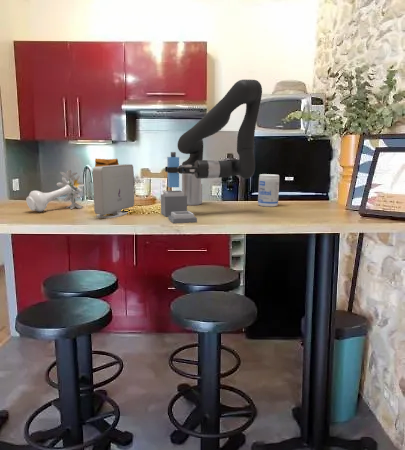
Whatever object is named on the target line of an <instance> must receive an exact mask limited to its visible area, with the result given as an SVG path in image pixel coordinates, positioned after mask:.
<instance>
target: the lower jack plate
mask: <svg viewBox="0 0 405 450" xmlns="http://www.w3.org/2000/svg"><path fill="white" fill-rule="evenodd" d="M167 219H168V221H170V222H171V223H172V224H185V223H187V224H188V223H189V222H191V223H197V222H198V218H197V217H196V216H195V213H193V212H191V211H190V210H187V211H180V212H171V215H168V217H167Z"/></svg>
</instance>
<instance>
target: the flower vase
mask: <svg viewBox="0 0 405 450" xmlns="http://www.w3.org/2000/svg"><path fill="white" fill-rule="evenodd" d="M59 174H60V175H62V176H61V182H57V183H56V186H57V187H59V189H56V190H53V191H50V192H42V191H40V190H31V191H30V192H29V194H28V196H27V197H26V198H25V199H26V200H25V201H26V204H27V207H28V208H29V210H31V211H35V212H38V213H40V212H43V211H44V210H46V208H47V205H48V204H49V203H50V202H51V201H53V200H54V199H57V198H59V197H62V196H65V195H66V196H65V198H64V202H69V201H70V203H71V204H70V205H68V206H66V207H65V208H66V209H71V210H72V209H74V208H77V209H82V207H83V206H82V205H80V204H79V203H77V202H76V199H80V198H81V197H82V196H81V194H79V193H82V191H83V188H81V187H84V186H85V184H84V183H83V182H81V176H80V175H78V172H73V173H72V170H71V169H68V170H67V171H66V172H63V171H59ZM76 175H77V177H75V176H76ZM67 179H68V181H67Z"/></svg>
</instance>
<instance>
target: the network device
mask: <svg viewBox="0 0 405 450" xmlns="http://www.w3.org/2000/svg"><path fill="white" fill-rule="evenodd" d="M134 176H135V175H134V165H133V164H129V163H127V164H119V165H110V166H98V167H95V166H94V167H93V168H92V183H93V184H92V187H93V188H92V189H93V208H94V213H95V214H96V215H95V217H96V218H100V219H116V218H120V217H122V216H126V215H128V214H127V213H128V212H125V211H124V212H123V211H121V210H122V209H123V210H127V209H129V208H133V207H134V205H135V186H134V185H135V181H134V179H135V177H134ZM106 214H113V215H106Z"/></svg>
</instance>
